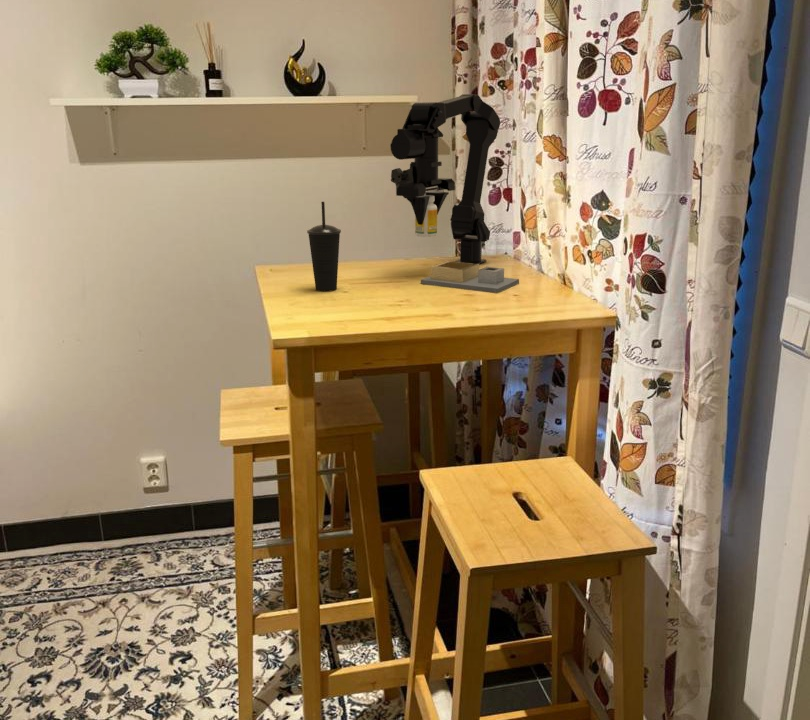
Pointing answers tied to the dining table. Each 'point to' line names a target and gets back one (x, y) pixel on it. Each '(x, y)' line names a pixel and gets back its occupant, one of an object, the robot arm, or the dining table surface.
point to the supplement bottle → (428, 221)
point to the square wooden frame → (454, 271)
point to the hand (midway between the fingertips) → (426, 222)
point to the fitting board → (473, 284)
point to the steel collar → (491, 275)
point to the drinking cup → (324, 254)
